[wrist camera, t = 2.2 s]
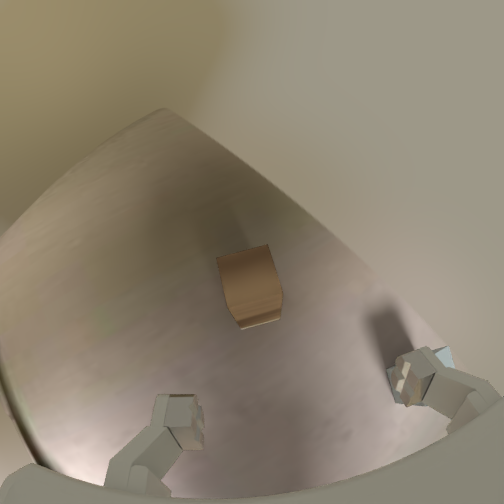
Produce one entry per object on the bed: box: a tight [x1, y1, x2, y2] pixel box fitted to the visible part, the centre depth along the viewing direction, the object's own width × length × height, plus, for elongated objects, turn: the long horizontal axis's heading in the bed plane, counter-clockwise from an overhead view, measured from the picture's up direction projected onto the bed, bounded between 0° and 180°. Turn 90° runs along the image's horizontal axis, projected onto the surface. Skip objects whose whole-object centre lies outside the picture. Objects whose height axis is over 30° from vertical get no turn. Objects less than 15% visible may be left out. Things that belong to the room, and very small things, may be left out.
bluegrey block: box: [386, 346, 455, 406], centre depth 25 cm, size 5×5×8 cm
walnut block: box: [216, 244, 283, 330], centre depth 30 cm, size 5×5×11 cm
